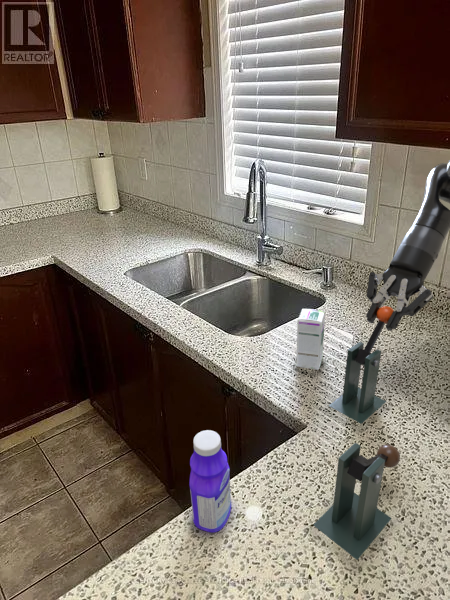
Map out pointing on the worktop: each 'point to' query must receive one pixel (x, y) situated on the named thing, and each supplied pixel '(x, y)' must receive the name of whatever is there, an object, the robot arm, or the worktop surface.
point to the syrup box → (310, 338)
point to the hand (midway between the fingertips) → (379, 325)
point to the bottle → (209, 482)
